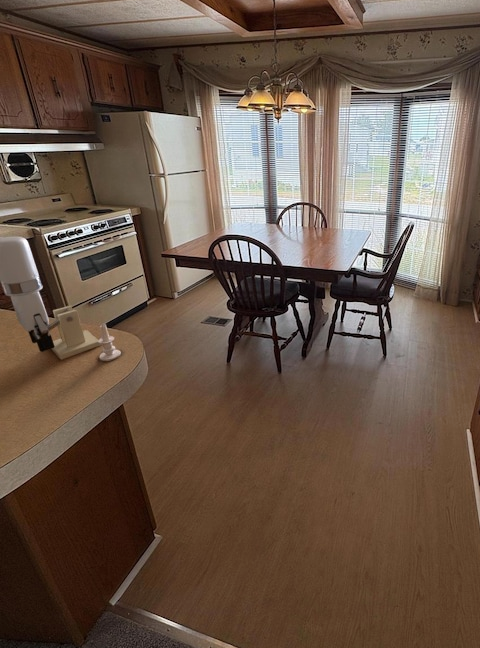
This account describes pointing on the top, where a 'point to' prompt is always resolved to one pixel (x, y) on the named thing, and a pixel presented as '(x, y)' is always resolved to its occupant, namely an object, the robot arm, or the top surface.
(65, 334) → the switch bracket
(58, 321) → the switch lever
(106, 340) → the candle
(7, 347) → the top surface
